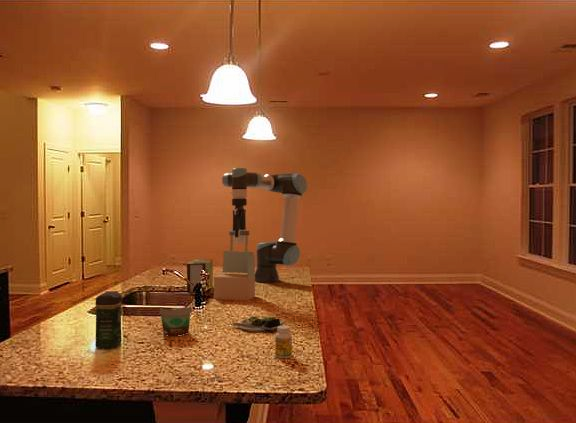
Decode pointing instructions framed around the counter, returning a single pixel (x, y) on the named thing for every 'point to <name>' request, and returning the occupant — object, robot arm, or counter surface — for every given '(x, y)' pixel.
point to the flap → (236, 256)
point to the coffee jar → (108, 320)
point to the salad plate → (260, 324)
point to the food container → (175, 321)
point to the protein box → (198, 272)
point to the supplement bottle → (283, 342)
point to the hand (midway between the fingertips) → (239, 242)
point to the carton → (236, 284)
